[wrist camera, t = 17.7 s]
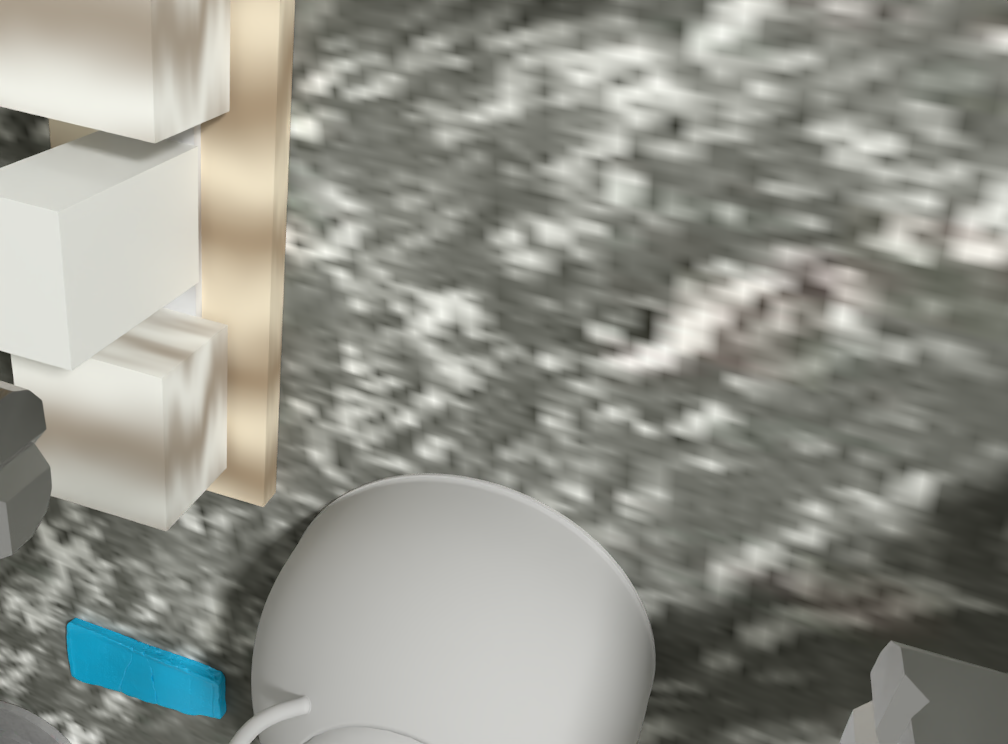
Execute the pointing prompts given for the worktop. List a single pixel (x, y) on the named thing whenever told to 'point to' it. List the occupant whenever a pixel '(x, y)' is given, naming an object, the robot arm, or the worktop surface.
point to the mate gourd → (26, 727)
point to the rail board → (221, 232)
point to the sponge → (144, 671)
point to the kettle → (449, 625)
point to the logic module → (94, 243)
